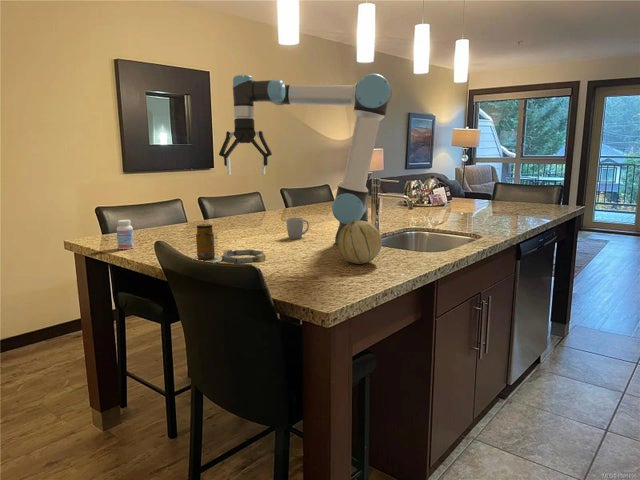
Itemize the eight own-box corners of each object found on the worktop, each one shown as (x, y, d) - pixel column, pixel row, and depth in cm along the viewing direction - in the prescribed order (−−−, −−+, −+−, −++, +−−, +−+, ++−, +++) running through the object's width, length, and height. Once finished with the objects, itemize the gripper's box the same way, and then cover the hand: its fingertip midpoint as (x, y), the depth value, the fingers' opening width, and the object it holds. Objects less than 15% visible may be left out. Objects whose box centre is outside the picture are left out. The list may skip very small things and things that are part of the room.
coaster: (228, 259, 169) (227, 258, 169) (206, 265, 161) (206, 263, 161) (208, 256, 174) (208, 254, 174) (186, 261, 166) (186, 260, 166)
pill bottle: (117, 250, 186) (114, 222, 184) (119, 247, 192) (116, 219, 190) (133, 249, 188) (131, 221, 186) (135, 246, 194) (133, 219, 192)
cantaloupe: (389, 262, 163) (390, 219, 160) (364, 270, 152) (364, 224, 149) (355, 256, 172) (355, 215, 170) (328, 263, 162) (328, 220, 159)
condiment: (206, 255, 173) (204, 222, 171) (223, 258, 169) (222, 224, 167) (191, 259, 167) (189, 225, 165) (209, 262, 163) (207, 227, 161)
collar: (275, 257, 172) (275, 251, 172) (249, 265, 161) (249, 259, 160) (239, 251, 182) (238, 246, 182) (211, 258, 171) (211, 253, 170)
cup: (284, 237, 212) (284, 217, 210) (306, 235, 215) (306, 216, 213) (288, 240, 204) (288, 220, 203) (311, 238, 207) (310, 219, 206)
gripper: (278, 118, 184) (279, 173, 188) (214, 119, 186) (217, 174, 190) (275, 117, 177) (276, 174, 181) (209, 118, 179) (212, 175, 183)
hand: (246, 174), depth 186 cm, fingers open, 13 cm apart
